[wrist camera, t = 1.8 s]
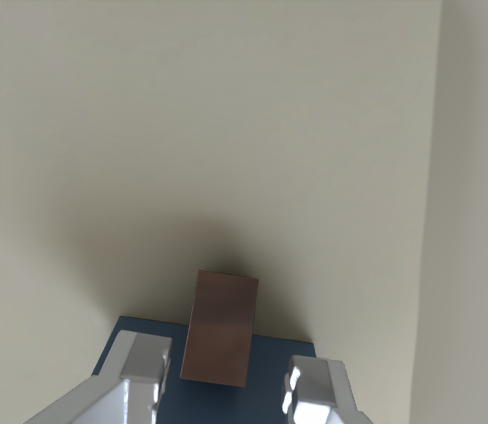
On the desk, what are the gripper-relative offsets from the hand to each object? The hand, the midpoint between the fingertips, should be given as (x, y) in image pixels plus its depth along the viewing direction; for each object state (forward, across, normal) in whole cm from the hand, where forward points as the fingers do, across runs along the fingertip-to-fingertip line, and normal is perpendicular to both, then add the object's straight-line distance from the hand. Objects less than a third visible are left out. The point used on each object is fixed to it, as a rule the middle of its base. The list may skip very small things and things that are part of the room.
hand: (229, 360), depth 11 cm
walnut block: (+11, 0, +9) cm, 15 cm away
